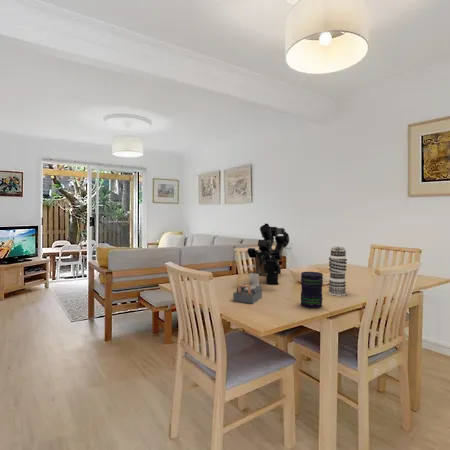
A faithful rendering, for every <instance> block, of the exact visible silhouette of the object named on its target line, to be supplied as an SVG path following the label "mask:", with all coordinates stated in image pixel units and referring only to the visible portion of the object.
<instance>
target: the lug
mask: <svg viewBox="0 0 450 450" xmlns="http://www.w3.org/2000/svg"><path fill="white" fill-rule="evenodd" d="M237 287H238V293H241V287H246V288H247V287H248V294H251V286H250V284H248V285H247V284H246V285H243V283H242V284H241V283H240V284H237Z"/></svg>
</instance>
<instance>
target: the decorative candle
mask: <svg viewBox="0 0 450 450" xmlns="http://www.w3.org/2000/svg"><path fill="white" fill-rule="evenodd" d="M329 250H330V255H329V258H328V266H329V269H328V270H329V274H330V275H329V280H328V282H329V283H328V285H329V286H328V295H330V294H331V295H330V296H333V295H338V296H337V297H342V296H341V295H345V296H346V292H347V291H346V290H347V288H346V286H347V285H346V283H347V282H346V273H347V264H348V262H347V261H348V259H347V256H346V255H347V253H346V252H347V250H346V248H345V247H343V246H333V247H331V248H330V249H329Z"/></svg>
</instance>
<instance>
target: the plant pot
mask: <svg viewBox="0 0 450 450" xmlns="http://www.w3.org/2000/svg"><path fill="white" fill-rule="evenodd" d="M255 250H256V251H257V250H258V249H255ZM273 250H274V249H272V250H271V251H270V252H273ZM271 257H272V256H271ZM254 267H255V274H259V276H263V277H264V276H265V277H266V275H267V273H265V270H264V265H262V266H260V263H259V259H258V257H257V256H256V257H255V258H254Z"/></svg>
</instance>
